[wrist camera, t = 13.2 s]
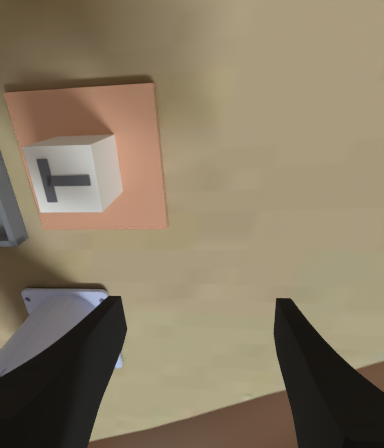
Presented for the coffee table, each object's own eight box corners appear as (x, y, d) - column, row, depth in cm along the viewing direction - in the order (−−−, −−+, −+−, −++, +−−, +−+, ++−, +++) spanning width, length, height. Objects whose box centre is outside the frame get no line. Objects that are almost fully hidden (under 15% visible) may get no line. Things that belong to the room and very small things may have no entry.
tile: (168, 225, 23) (167, 228, 22) (47, 226, 24) (43, 229, 23) (154, 82, 19) (152, 82, 18) (9, 92, 20) (3, 92, 19)
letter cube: (122, 191, 21) (102, 212, 18) (70, 191, 22) (39, 213, 18) (114, 134, 20) (89, 145, 16) (57, 136, 20) (21, 147, 16)
